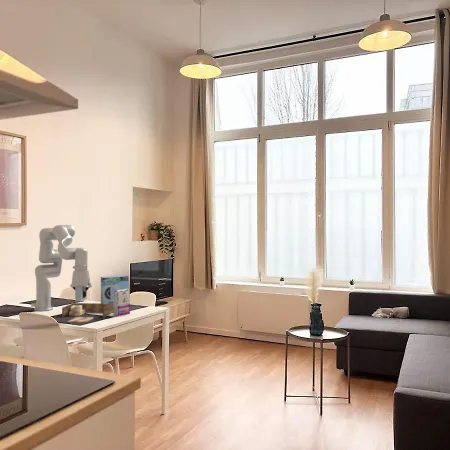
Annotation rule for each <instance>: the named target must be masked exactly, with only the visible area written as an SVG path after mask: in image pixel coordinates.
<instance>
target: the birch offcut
mask: <svg viewBox="0 0 450 450" xmlns="http://www.w3.org/2000/svg"><path fill="white" fill-rule="evenodd" d="M81 310H82V305H73V306H72V307H71V312H80V311H81Z"/></svg>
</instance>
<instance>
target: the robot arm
mask: <svg viewBox="0 0 450 450" xmlns="http://www.w3.org/2000/svg"><path fill="white" fill-rule="evenodd" d="M75 234H76V230H75V227H74V226H72V225H69V224H58V225H55V226H53V227H45V228H44V227H43V228H41V230H40V231H39V235H38V237H39V242H40V245H39V252H38V261H39V263H41V264H39V265H37V266H36V267H35V268H34V275H35V280H36V281H35V284H36V286H35V288H36V289H35V291H36V293H35V297H36V298H35V303H31V304H30V306H31V307H34V308H33V311H35V312H36V311H37V312H43V311H44V312H46V311H51V310H54V307H53V306H52V304H51V303H52V302H51V301H52V300H51V299H52V285H51V282H50V280H49V279H51V278H58V277H59V276H61V273H62V266H63V260H65V261H72V260H74V266H72V269H73V272H72V277H71V284H70V285H69V286H70V288H72V289H73V290H74V291H75V287H76V286H82V287H83V289H84V291H83V298H85V297H86V291H87V292H88V290H89V289H91V288H92V287H93V285H92V284H91V278H90V271H89V269H88V249H87V248H84V247H83V248H82V247H68V246H70V245H71V244H72V243H73V238H74V237H75ZM53 241H57V242H58V244H57V248H56V249H54V242H53Z"/></svg>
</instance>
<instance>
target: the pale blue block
mask: <svg viewBox="0 0 450 450" xmlns="http://www.w3.org/2000/svg"><path fill="white" fill-rule="evenodd" d="M83 291H84V289H83V287H82V286H76V287H75V290H74V292H75V293H74V294H75V295H74V301H75V302H83V301H86V300H87V298H88V296H87V295H88V290H87V291H86V297H85V298H83Z"/></svg>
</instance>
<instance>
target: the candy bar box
mask: <svg viewBox="0 0 450 450" xmlns="http://www.w3.org/2000/svg"><path fill="white" fill-rule="evenodd" d="M130 294H131V291H130V289H129V288H128V289H122V290H117V291H113V313H112V314H113V316H114V317H121V316H125V315H129V314H131V305H130V304H131V302H130V301H131V298H130V296H131V295H130Z"/></svg>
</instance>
